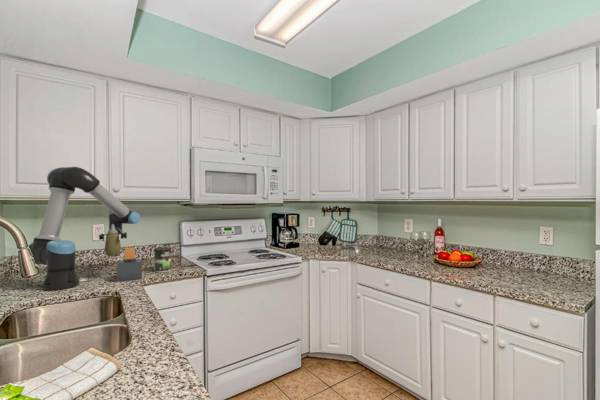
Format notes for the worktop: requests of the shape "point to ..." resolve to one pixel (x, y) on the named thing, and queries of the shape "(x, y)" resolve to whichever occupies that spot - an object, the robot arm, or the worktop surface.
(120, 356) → the worktop surface
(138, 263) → the switch box
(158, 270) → the coffee can
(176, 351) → the worktop surface
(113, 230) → the squeeze bottle
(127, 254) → the breaker handle
